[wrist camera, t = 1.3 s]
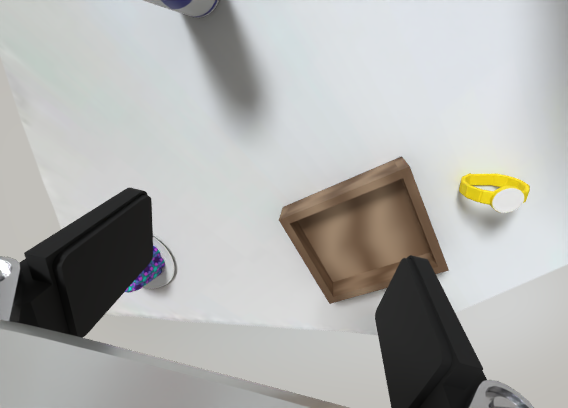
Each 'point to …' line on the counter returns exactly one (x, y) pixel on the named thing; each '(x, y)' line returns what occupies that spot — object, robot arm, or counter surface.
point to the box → (362, 231)
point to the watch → (502, 198)
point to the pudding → (155, 270)
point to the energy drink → (188, 6)
